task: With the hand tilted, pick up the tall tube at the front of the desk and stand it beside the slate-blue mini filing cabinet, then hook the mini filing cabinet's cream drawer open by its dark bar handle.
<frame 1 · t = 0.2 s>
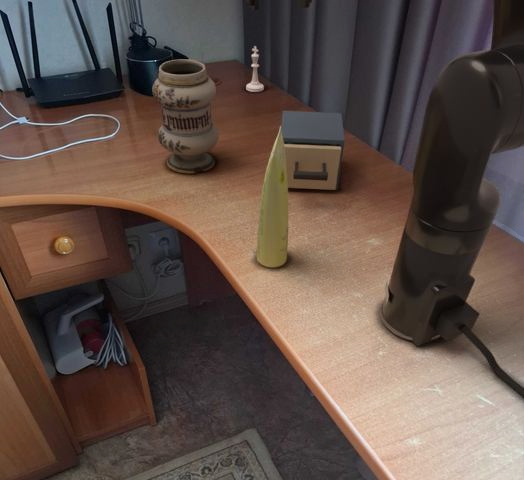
hand: (279, 8, 72), 28 cm above the table, tool pointing down, fingers open, 8 cm apart
chess piece: (255, 89, 128), on the table
mini filing cabinet: (307, 173, 96), on the table
apothecary jar: (191, 163, 98), on the table
drawer: (309, 161, 89), point 5 cm above the table, slide at 0.5 cm
tube: (271, 260, 76), on the table
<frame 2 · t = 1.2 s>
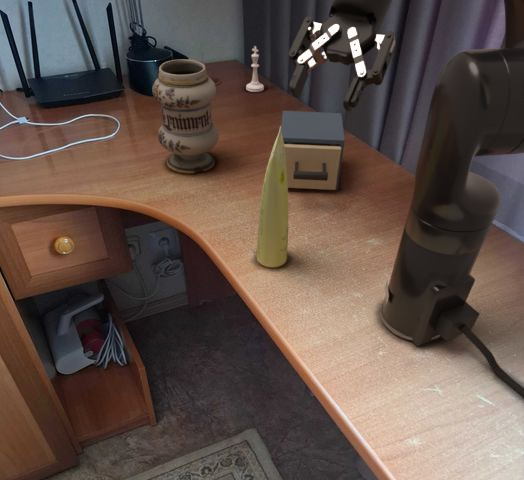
hand: (319, 101, 67), 21 cm above the table, tool tilted 45°, fingers open, 8 cm apart
nothing on the table moved.
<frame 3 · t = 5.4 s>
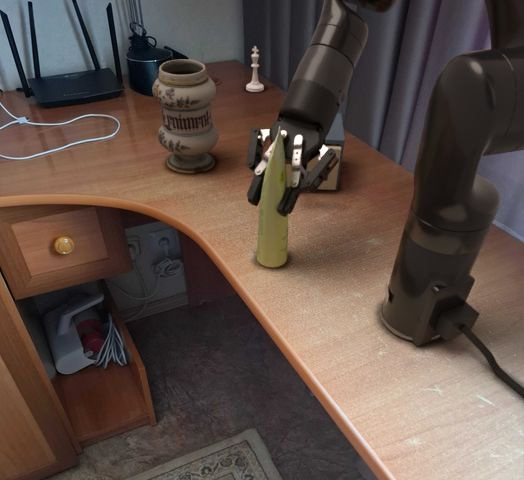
hand: (266, 208, 67), 10 cm above the table, tool tilted 45°, fingers closed on tube, 4 cm apart
tube: (271, 260, 76), on the table, touching gripper
everything else where it was.
when the fingers open (10 cm above the table, at t = 17.4 s): tube stays where it is, on the table.
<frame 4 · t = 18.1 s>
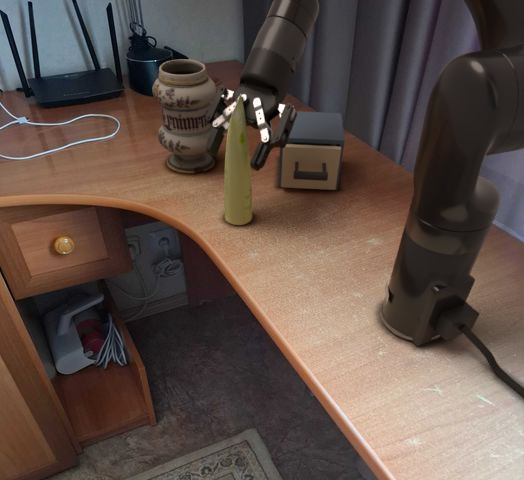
hand: (232, 161, 74), 11 cm above the table, tool tilted 45°, fingers open, 8 cm apart
tube: (238, 219, 84), on the table
everything else where it was.
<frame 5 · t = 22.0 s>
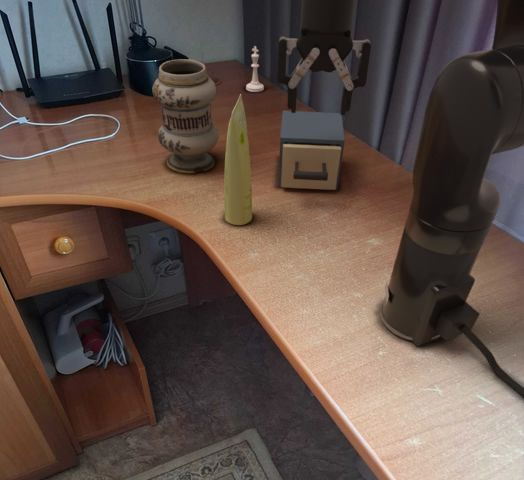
hand: (318, 112, 78), 15 cm above the table, tool pointing down, fingers open, 7 cm apart
nothing on the table moved.
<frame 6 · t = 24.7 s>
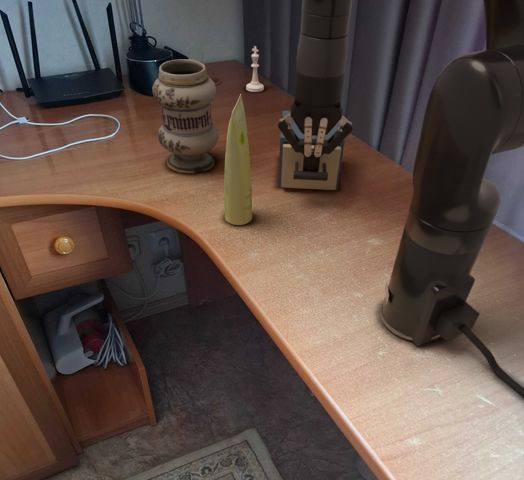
hand: (310, 174, 85), 5 cm above the table, tool pointing down, fingers closed
drawer: (309, 161, 89), point 5 cm above the table, slide at 0.5 cm, touching gripper
everything else where it was.
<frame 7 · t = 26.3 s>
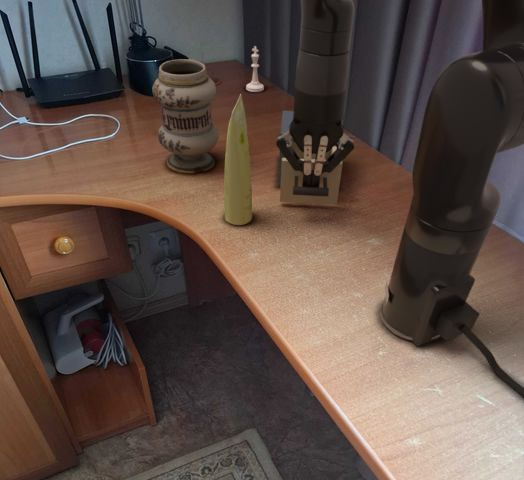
hand: (310, 192, 81), 4 cm above the table, tool pointing down, fingers closed
drawer: (310, 175, 85), point 5 cm above the table, slide at 6.0 cm, touching gripper
everything else where it was.
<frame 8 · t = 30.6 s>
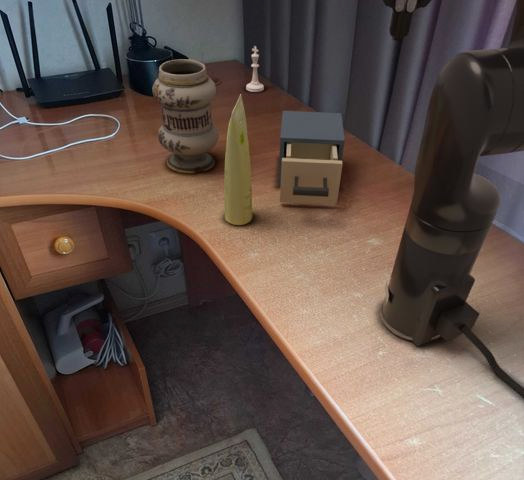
hand: (397, 39, 74), 25 cm above the table, tool pointing down, fingers closed
drawer: (310, 175, 85), point 5 cm above the table, slide at 6.1 cm
everything else where it was.
at the end: drawer slide at 6.1 cm; tube inside the target area (0.3 cm from its centre), on the table; tube tilted 0° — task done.
